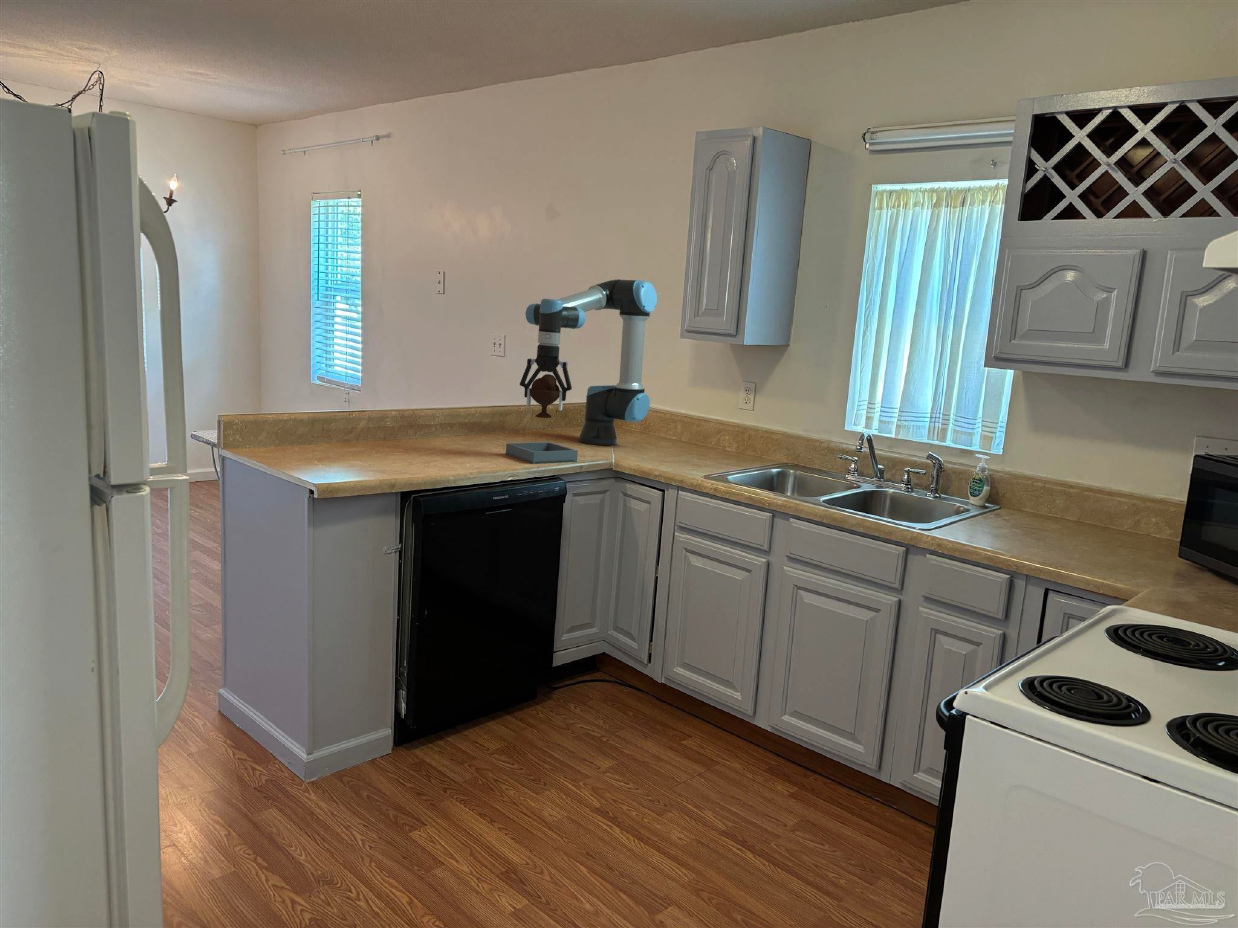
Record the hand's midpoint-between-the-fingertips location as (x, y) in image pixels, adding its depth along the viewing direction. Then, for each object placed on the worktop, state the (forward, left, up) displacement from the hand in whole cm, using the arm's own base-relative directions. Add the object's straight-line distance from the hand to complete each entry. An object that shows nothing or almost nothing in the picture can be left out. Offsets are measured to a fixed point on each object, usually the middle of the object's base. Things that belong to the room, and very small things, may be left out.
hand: (544, 408), depth 305 cm
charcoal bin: (0, 0, -17) cm, 17 cm away
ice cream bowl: (0, 0, -3) cm, 3 cm away
